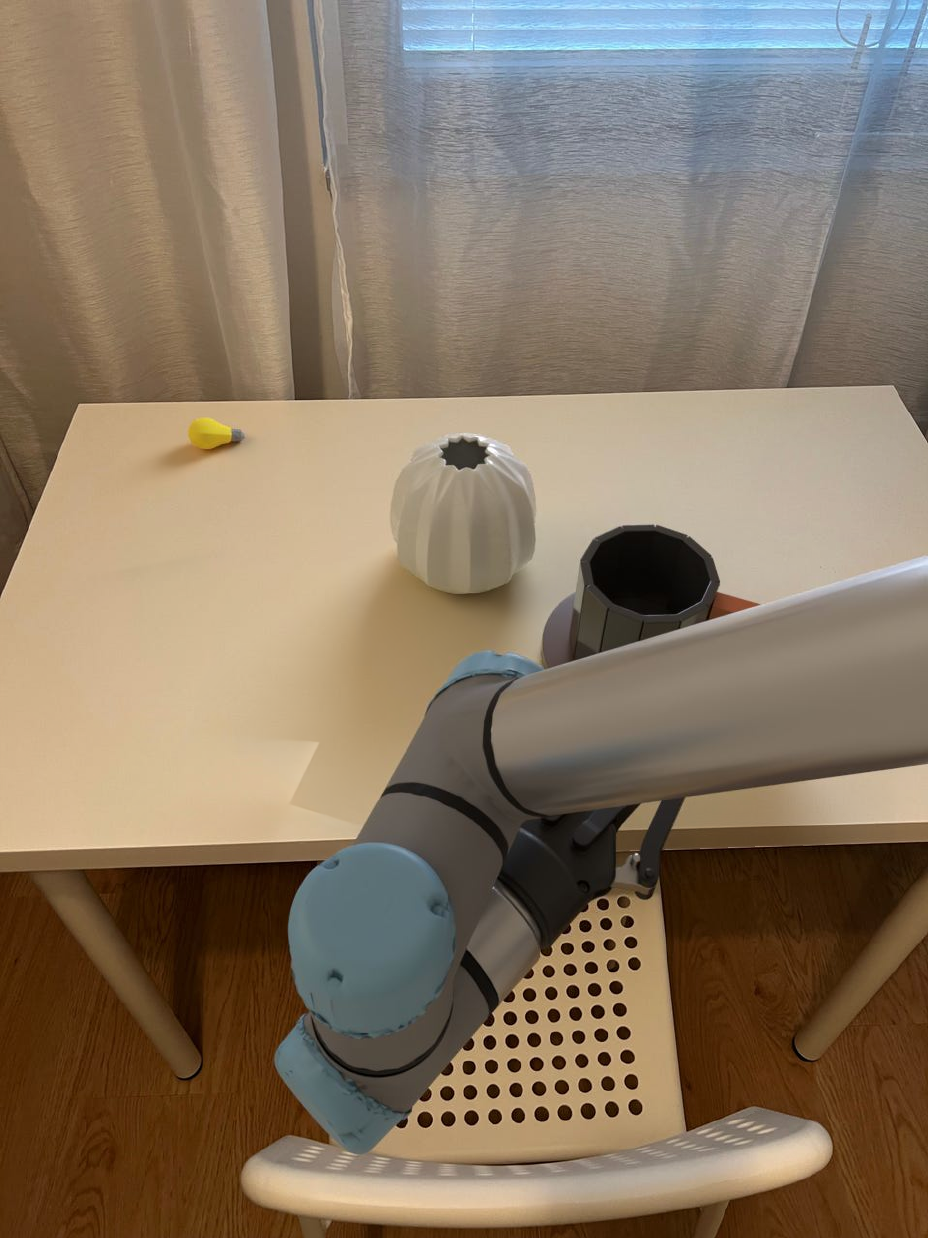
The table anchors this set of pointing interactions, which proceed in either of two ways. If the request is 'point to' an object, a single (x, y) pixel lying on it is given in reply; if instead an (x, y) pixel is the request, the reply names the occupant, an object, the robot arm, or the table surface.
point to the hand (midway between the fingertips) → (708, 683)
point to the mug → (643, 588)
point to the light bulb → (212, 433)
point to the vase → (464, 514)
